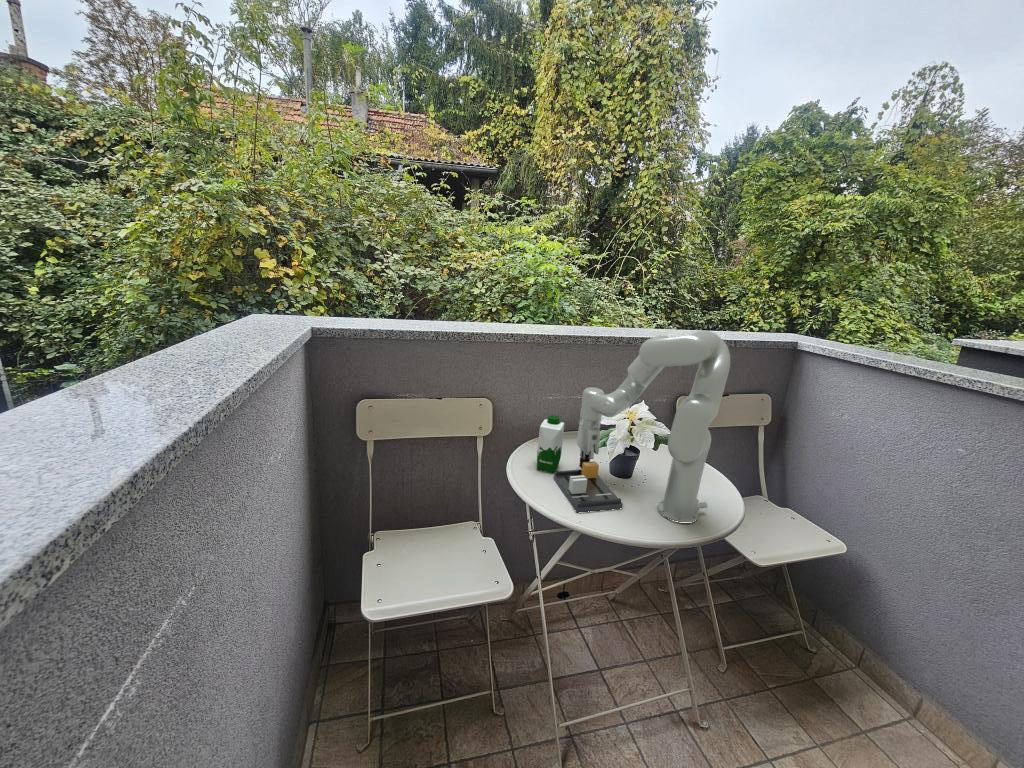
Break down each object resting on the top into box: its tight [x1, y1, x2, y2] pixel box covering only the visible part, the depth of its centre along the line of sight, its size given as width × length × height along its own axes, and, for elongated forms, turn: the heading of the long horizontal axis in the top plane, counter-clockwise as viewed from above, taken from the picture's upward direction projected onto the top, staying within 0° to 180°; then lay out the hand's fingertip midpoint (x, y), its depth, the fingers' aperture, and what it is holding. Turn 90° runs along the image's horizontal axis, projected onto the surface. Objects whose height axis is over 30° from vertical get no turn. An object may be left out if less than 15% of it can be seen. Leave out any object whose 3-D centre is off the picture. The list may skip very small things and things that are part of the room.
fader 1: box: [569, 475, 587, 494], centre depth 149 cm, size 5×3×5 cm, turn 105°
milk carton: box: [536, 414, 565, 475], centre depth 166 cm, size 9×9×20 cm
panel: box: [553, 469, 624, 514], centre depth 153 cm, size 16×22×3 cm
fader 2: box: [581, 461, 600, 479], centre depth 159 cm, size 5×3×5 cm, turn 105°
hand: (583, 467), depth 164 cm, fingers closed
